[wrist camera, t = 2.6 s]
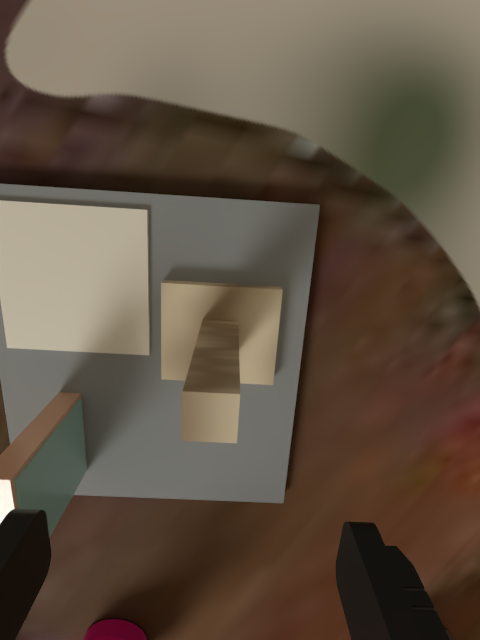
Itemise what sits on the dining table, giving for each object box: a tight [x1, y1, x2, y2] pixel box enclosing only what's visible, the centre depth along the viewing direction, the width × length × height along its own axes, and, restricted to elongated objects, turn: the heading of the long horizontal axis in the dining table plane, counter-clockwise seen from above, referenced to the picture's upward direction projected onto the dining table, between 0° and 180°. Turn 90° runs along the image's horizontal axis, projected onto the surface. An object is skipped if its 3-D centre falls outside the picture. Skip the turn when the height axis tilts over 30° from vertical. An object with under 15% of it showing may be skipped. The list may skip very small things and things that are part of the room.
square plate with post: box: [161, 280, 283, 443], centre depth 21 cm, size 8×7×11 cm
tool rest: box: [0, 200, 150, 355], centre depth 25 cm, size 10×10×1 cm
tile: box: [0, 392, 87, 538], centre depth 24 cm, size 2×7×9 cm, turn 177°
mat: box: [0, 184, 320, 503], centre depth 27 cm, size 22×24×1 cm
